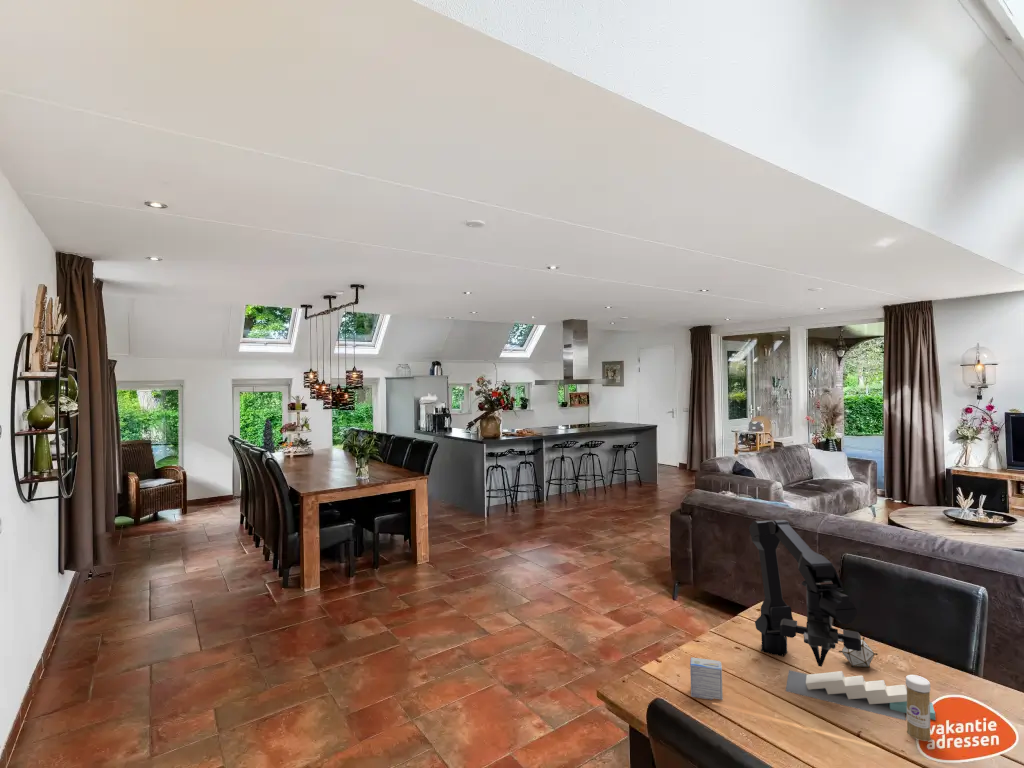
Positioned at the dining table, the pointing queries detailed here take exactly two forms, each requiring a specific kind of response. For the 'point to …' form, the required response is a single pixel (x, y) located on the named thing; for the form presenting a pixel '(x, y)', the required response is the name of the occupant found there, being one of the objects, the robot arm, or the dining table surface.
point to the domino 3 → (870, 690)
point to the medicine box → (706, 678)
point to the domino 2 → (849, 686)
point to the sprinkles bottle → (918, 707)
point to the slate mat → (837, 697)
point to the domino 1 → (825, 680)
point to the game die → (859, 655)
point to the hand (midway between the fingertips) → (820, 665)
